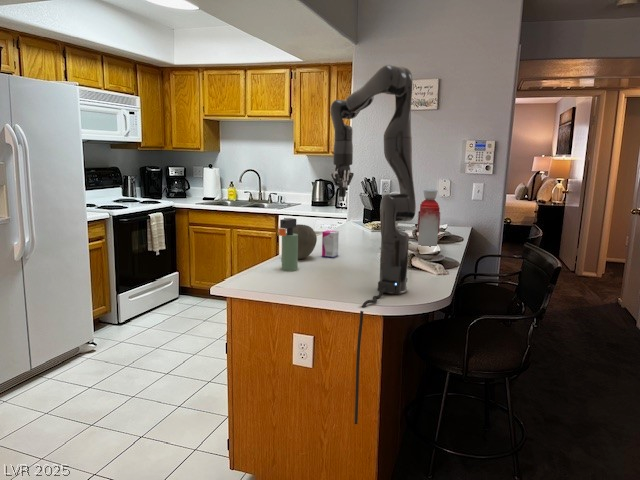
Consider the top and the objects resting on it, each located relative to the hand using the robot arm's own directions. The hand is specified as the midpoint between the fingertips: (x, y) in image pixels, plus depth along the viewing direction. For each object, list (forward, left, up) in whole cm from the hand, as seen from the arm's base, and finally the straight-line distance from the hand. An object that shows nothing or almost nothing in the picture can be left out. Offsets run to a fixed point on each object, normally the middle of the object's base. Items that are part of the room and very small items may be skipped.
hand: (342, 196), depth 194 cm
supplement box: (+18, +10, -29) cm, 36 cm away
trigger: (-15, +19, -15) cm, 29 cm away
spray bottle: (-11, +18, -29) cm, 36 cm away
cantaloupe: (+9, +21, -29) cm, 37 cm away
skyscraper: (+46, -12, -29) cm, 56 cm away
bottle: (+46, -30, -29) cm, 62 cm away
